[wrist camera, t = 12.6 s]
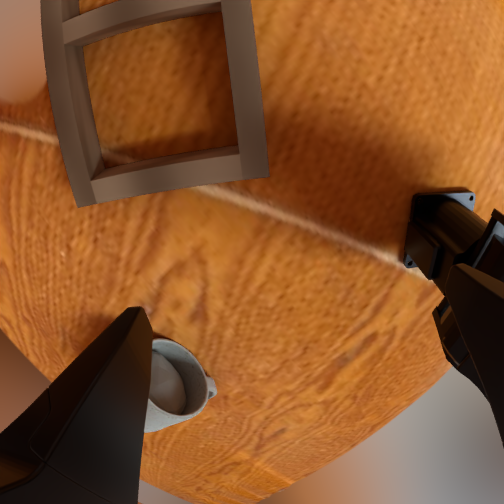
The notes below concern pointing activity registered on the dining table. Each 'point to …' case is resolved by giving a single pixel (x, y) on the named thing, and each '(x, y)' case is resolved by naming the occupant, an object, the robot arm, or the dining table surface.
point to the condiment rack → (81, 115)
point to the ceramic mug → (175, 386)
